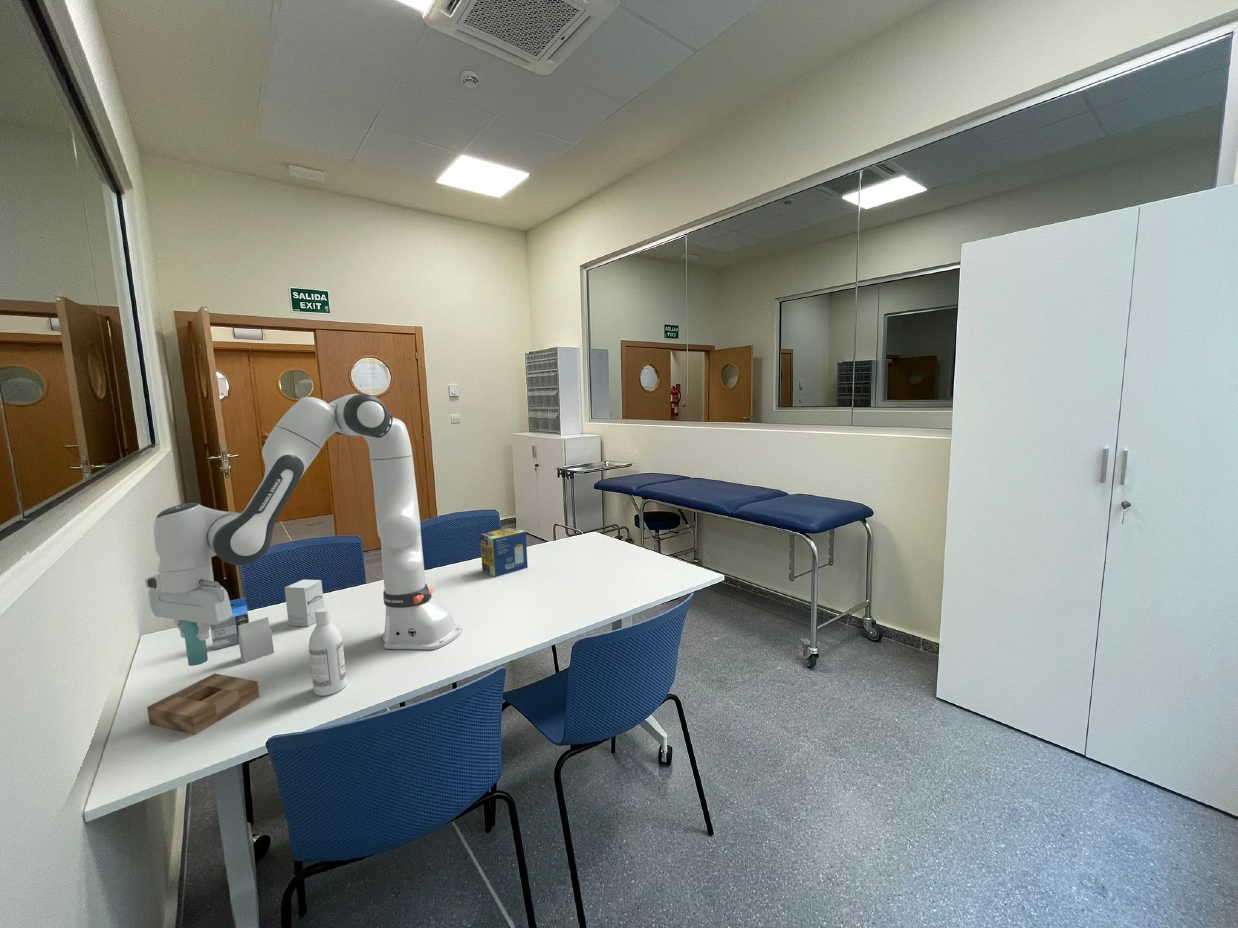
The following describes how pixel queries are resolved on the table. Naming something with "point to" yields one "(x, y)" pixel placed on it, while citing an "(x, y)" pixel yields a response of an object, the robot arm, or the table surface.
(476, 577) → the table surface
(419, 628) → the robot arm
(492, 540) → the protein box
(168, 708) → the socket block
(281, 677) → the table surface
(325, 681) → the bath foam
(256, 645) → the white carton
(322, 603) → the supplement box
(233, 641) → the label tape box
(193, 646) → the peg
